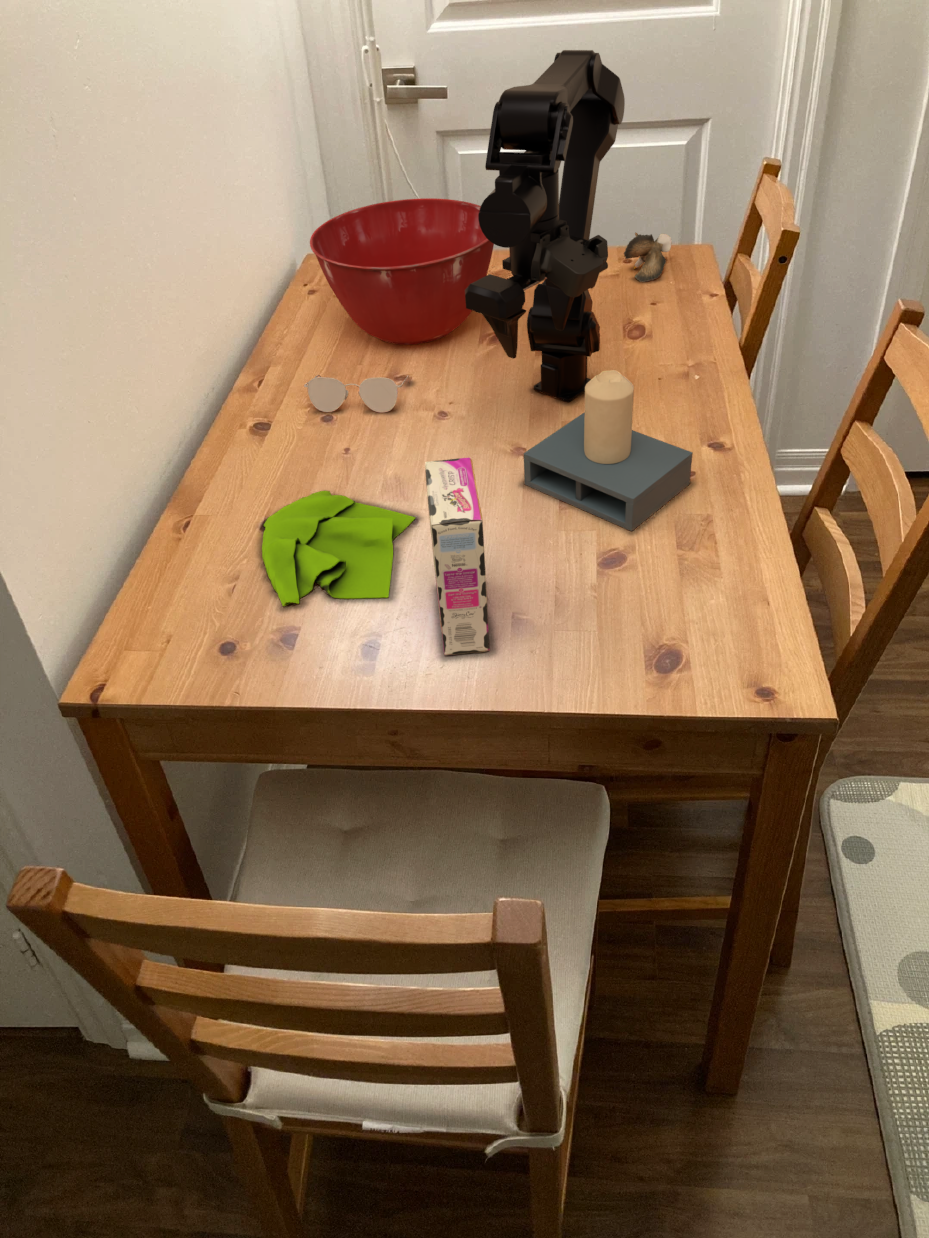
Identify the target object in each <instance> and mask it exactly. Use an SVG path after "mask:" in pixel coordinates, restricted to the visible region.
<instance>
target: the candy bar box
mask: <svg viewBox="0 0 929 1238" xmlns="http://www.w3.org/2000/svg"><path fill="white" fill-rule="evenodd" d="M424 471H425V486H426V498H427V507H428V508H427V509H428V520H429V527H430V528H429V530H430V539H431V549H432V558H433V567H434V578H435V586H436V596H437V605H438V614H439V615H438V616H439V622H440V623H439V624H440V630H441V631H440V632H441V638H442V649H443V655H444V656H455V655H457V656H458V655H465V654H478V653H479V654H480V653H484V652H490V650H491V647H490V630H489V612H488V609H489V608H488V591H487V574H486V573H487V572H486V558H485V557H486V556H485V539H484V538H485V537H484V536H485V535H484V523H483V522H484V521H483V513H482V509H481V508H482V507H481V505H480V499H479V493H478V487H477V481H476V474H475V469H474V463H473V458H472V457H458V458H450V459H442V460H431V461H425V462H424Z"/></svg>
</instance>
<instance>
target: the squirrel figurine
mask: <svg viewBox="0 0 929 1238" xmlns="http://www.w3.org/2000/svg"><path fill="white" fill-rule="evenodd" d="M634 235H635V237H633V238H632V239H630V241H628V243H627V245H626V247H625V248H624V249H625V250H624V251H623V257H624V258H625V260H628V259H636V258H637V260H636V262H635V263H634V266H633V270H636V268H639V267H640V266H641V268H640V269H639V270H638V272H636V274H635V276H634V278H635V279H636V281H638V282H640V283H646V282H650V281H654V280H656V279H657V280H658V278H660V277H661V275H662V274H663V271H664V268H665V265H666V264H667V260H666V257H665V256H664V254H663V253H669V252H670V251H671V249H672V244H673V242H672V237H671V236H670V235H668V234H666V233H660V234H658V235H659V236H658V237H657V238H656V239H654V236H653V234H652V233H651V234H638V232H634Z"/></svg>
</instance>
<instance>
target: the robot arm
mask: <svg viewBox="0 0 929 1238" xmlns="http://www.w3.org/2000/svg"><path fill="white" fill-rule="evenodd" d="M625 99H626V98H625V94H624V89H623V85H622V82H621V78H620V77H619V76H618V75H617V74H616V73H614V72H613V71H612V70H611V69H610V68H608V67H607V66H606V65H605V64H603V62H602V58H601V55H600V53H599V52H595V51H594V50H593V49H563V50H562V51H561V52H556V53H555V55H554V60H553V62H552V63H551V64H550V65H549V66H548V67H547V68H546V70H545V71H544V72H543V73H542V74H541V75H540V76H539V77H538V78H537V79H536V80H535V81H534V82H533V83H532V84H527V85H526V84H525V85H517V86H513V87H510V88H507V89H504V91H503V92H502V93H501V95H500V97H499V99H498V101H496V102H495V105H494V107H493V110H492V111H493V112H492V118H491V124H490V131H489V138H488V144H487V150H486V151H487V152H486V159H485V165H484V167H485V171H498V175H497V177H496V178H495V179H494V189H493V190H492V191H491V192H490V193H489V195H487V197H486V198H485V199H484V200H483V201H482V203H481V204H480V206H481V207H480V211H479V214H478V220H479V225H480V228H481V230H482V232H483V234H484V235H485V237H486V238H487V239H488V240H489V241H490V242H492V243H493V244H494V246H497V247H499V248H505V249H507V248H509V256H508V257H506V258H505V259H502V260H501V261H502V262H501V263H502V270H505V271H509V272H511V275H512V276H510V277H508V278H504V277H501V276H497V275H494V274H491V273H488V274H487V276H485V277H483V278H481V279H479V280H477V281H475V282H473V283H471V284H470V285H469V286H468V287H467V288H466V289H465V302H466V308H467V309H470V310H472V312H475V313H478V314H480V315H482V316H483V318H484V320H485V321H486V322H487V323H488V325H489V326H490V328H491V330H492V332H493V333H494V335H495V337H496V338H497V340H498V342H499V344H500V345H501V347H502V349H503V351H504V353H505V355H506V356H507V357H508V358H509V359H512V360H515V359H516V358H517V354H518V340H519V320H520V319H521V318H522V317H523V316H524V315H525V314H526V312H527V309H524V308H523V307H524V305H525V303H526V291H527V290H528V289H531V288H533V287H534V286H535V289H534V291H533V302H532V306H531V307H530V308H529V310H528V313H527V318H526V332H527V337H528V342H529V348H530V352H541V364H540V381H539V382H537V383H536V384H534V385H533V391H535V392H538V393H540V394H543V395H547V396H549V397H552V398H555V399H556V400H560V401H562V402H566V403H570V402H572V401H573V400H575V399H577V398H578V397H580V396H582V395H583V394H585V386H586V384H587V383H588V382H589V381H590V380H591V379H592V378H589V377H588V358H591V356H592V354H594V353H597V352H599V351H600V350H601V333H600V329H601V326H600V324H599V322H598V319H597V317H596V315H595V313H594V312H593V299H592V296H591V294H590V291H589V290H592V289H594V288H595V287H596V284H597V281H598V279H599V276H600V273H602V272H604V271H606V270H608V268H609V263H608V257H609V247H608V240H607V239H605V238H604V237H603V236H601V235H600V234H597V235H595V236H593V237H591V230H592V222H593V215H594V208H595V200H596V192H597V186H598V185H597V184H598V178H599V172H600V171H599V170H600V164H601V162H602V160H603V159H604V158H605V156H606V155H607V153H608V152H609V151H610V149H611V148H612V147H613V146H614V144H615V143H616V139H617V133H618V128H619V125H622V122H623V120H624V115H625V105H626V104H625V102H626V101H625ZM501 150H505V151H501ZM509 151H510V152H509ZM512 151H524V152H512ZM562 162H563V170H562V177H561V184H560V183H559V182H560V177H559V176H560V175H559V169H560V167H561V163H562ZM559 189H560V190H559ZM590 237H591V238H590ZM541 282H542V283H541Z"/></svg>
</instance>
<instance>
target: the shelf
mask: <svg viewBox="0 0 929 1238" xmlns="http://www.w3.org/2000/svg"><path fill="white" fill-rule="evenodd" d="M584 418H585V411H584V412H583V413H581V414H579V415H577V417H575V418H574V419H572V420H571V421H569V422H568V423H566V424H564V425H563V426H562V427H560V428H558V429H557V430H556V431H554V432H553V433H552V434H550V435H548V436H547V437H546V438H544V439H543V440H541V441H540V442H538V443H537V444H535V445H534V446H532V447H531V448H529V449H527V450H526V451H524V453H523V476H524V477H523V479H524V480H523V481H524V482H523V483H524V485H525V486H527V487H529V488H531V489H534V490H536V491H538V492H541V493H543V494H545V495H548V496H550V497H552V498H554V499H557V500H558V501H562V502H564V503H566V504H568V505H570V506H572V507H575V508H577V509H579V510H581V511H584V512H586V513H589V514H590V515H593V516H595V517H598V518H600V519H602V520H604V521H606V522H609V523H610V524H613V525H616V526H618V527H620V528H623V529H624V530H627V531H629V532H633V531H635V529H637V528H638V527H639V526H640V525H642V524H643V523H644V522H645V521H646V520H648V519H649V518H650V517H651V516H653V515H654V514H655V513H657V511H659V510H661V508H663V506H665V505H666V504H667V503H669V502H670V501H671V500H672V499H673V498H675V497H676V496H677V495H679V493H681V492H683V491H684V490H685V489H686V488H687V487H688V486H689V485H690V483H691V473H692V465H693V464H692V462H693V452H692V451H690V450H687V449H684V448H681V447H679V446H676V445H674V444H671V443H668V442H666V441H663V440H661V439H657V438H655V437H652V436H650V435H647V434H645V433H641V432H638V431H636V430H634V429H632V437H631V451H630V455H629V456H628V458H626V459H625V460H623V461H621V462H618V463H614V464H601V463H596V462H594V461H591V460H590V459H588V458H587V457H586V455H585V452H584Z"/></svg>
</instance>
